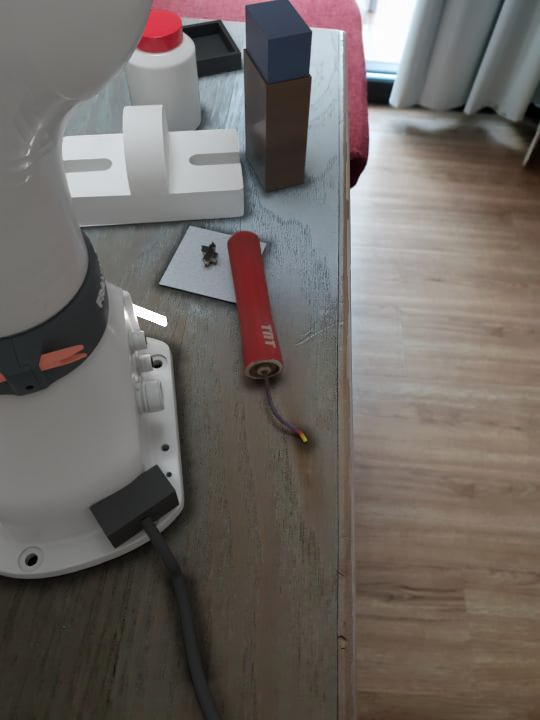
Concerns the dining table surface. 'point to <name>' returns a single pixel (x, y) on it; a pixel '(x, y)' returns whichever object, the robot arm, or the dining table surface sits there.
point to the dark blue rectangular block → (278, 40)
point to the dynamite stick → (255, 313)
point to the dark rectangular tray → (213, 48)
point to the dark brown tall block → (276, 127)
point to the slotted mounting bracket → (153, 172)
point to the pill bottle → (166, 71)
